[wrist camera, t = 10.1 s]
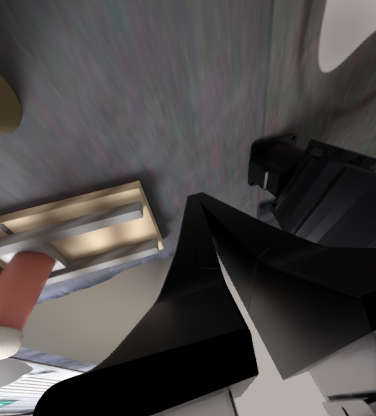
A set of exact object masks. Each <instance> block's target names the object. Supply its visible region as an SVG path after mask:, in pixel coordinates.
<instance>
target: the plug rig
mask: <svg viewBox="0 0 376 416" xmlns="http://www.w3.org/2000/svg"><path fill="white" fill-rule="evenodd" d="M47 243H49V244H50V245H51V246H52V247H53V248H54V249H56V250H57V251H58V252H59V253H60V254H61V255H62V256H63V257H64V258H65V259H66V260H67V261H69V262H68V265H67V267H66V268H63V269H60V270H56V271H53V272H51V274H50V276H49V278H48V280H47V282H46V284H45V285H49V284H52V283H56V282H59V281H62V280H66V279H69V278H73V277H76V276H80V275H83V274H87V273H90V272H94V271H97V270H100V269H104V268H107V267H111V266H114V265H118V264H121V263H125V262H128V261H132V260H135V259H138V258H142V257H145V256H149V255H152V254H156V253H159V250H161V249H164V246H163V239H162V237H161V234H160V232H159V229H158V227H157V224H156V222H155V219H154V217H153V214H152V211H151V209H150V206H149V204H148V201H147V199H146V196H145V194H144V191H143V189H142V186H141V184H140V181H135V182H131V183H127V184H123V185H119V186H115V187H111V188H107V189H104V190H100V191H96V192H92V193H88V194H84V195H80V196H76V197H72V198H68V199H64V200H60V201H56V202H52V203H48V204H44V205H40V206H36V207H32V208H28V209H24V210H20V211H16V212H12V213H8V214H4V215H0V256H2V255H6V254H10V253H13V252H17V251H21V250H25V249H28V248H32V247H36V246H39V245H43V244H47ZM7 264H8V263H6V262H5V261H3V260H1V259H0V273H1V272H2V271H3V269H4V268H5V267H6V265H7Z"/></svg>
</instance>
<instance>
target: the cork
mask: <svg viewBox="0 0 376 416" xmlns="http://www.w3.org/2000/svg"><path fill="white" fill-rule="evenodd" d="M21 119H22V112H21V105H20V103H19V101H18V98H17V96H16V94H15V92H14V91H13V90H12V88H11V87H10V85H9V84H8V83H7V81H6V80H5V79H4V78H3V77H2V76H1V75H0V135H3V134H6V133H10V132H12V131H14V130H15V129H16V128H17V127H18V126H19V124H20V121H21Z"/></svg>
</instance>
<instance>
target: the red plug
mask: <svg viewBox="0 0 376 416" xmlns="http://www.w3.org/2000/svg"><path fill="white" fill-rule="evenodd" d="M0 259H1V260H3V261H5V262H6V263H8V264H7V265H6V267H5V268H4V269H3V271H2V272H1V273H0V360H1V359H5V358H8V357H10V356H12V355H14V354H15V353H16V352H17V351H18V349H19V347H20V345H21V343H22V341H23V339H24V334H23V333H22V330H23V328H24V326H25V324H26V322H27V320H28V318H29V316H30V314H31V312H32V310H33V308H34V306H35V304H36V302H37V300H38V298H39V296H40V294H41V292H42V290H43V288H44V286H45V284H46V282H47V280H48V278H49V276H50V274H51V272H53V271H56V270H60V269H63V268H66V267H67V265H68V262H69V261H67V260H66V259H65V258H64V257H63V256H62V255H61V254H60V253H59V252H58V251H57V250H56V249H54V248H53V247H52V246H51V245H50V244H49V243H47V244H43V245H39V246H36V247H32V248H28V249H25V250H21V251H17V252H13V253H10V254H6V255H2V256H0Z"/></svg>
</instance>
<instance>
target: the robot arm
mask: <svg viewBox="0 0 376 416" xmlns="http://www.w3.org/2000/svg"><path fill="white" fill-rule="evenodd" d="M292 137H293V138H292ZM296 140H297V135H296V134H289V135H285V136H281V137H277V138H273V139H269V140H265V141H261V142H257V143H254V144H252V146H251V153H250V161H249V169H248V177H249V178H248V184H249V185H250V186H254V185H259V186H260V187H261V188H262V189H264V190H268V191H269V192H270V193H271V194H273V195H274V196H275V197H276V199H275V200H274V202H273V203H272V204H271V205H270V207H269V208H270V209H271V211H272V213H273V215H274V216H275V218H276V220H277V221H278V223H279V225H280V226H281V228H282V229H283V230H281V229H278V228H276V227H273V226H271V225H269V224H266V223H264V222H262V221H260V220H258V219H256V218H254V217H252V216H251V217H250V215H248V214H246V213H244V212H242V211H240V210H238V209H236V208H234V207H232V206H230V205H228V204H226V203H224V202H221V201H219V200H217V199H215V198H213V197H211V196H209V195H207V194H205V193H203V192H200V193H197V194H193V195H189V196H188V197H187V201H186V206H185V211H184V216H183V220H182V225H181V230H180V234H179V239H178V243H177V247H176V251H175V254H174V257H173V260H172V263H171V266H170V268H169V271H168V274H167V276H166V279H165V281H164V284H163V287H162V289H161V292H160V294H159V296H158V298H157V300H156V302H155V303H154V305H153V306H152V307H151V308H150V310H149V311H148V312H147V313H146V314H145V316H144V317H143V318H142V319H141V320H140V321H139V323H138V324H137V325H136V326H135V327H134V328H133V330H132V331H131V332H130V333H129V334H128V335H127V336H126V338H125V339H124V340H123V341H122V342H121V344H120V345H119V346H118V347H117V348H116V349H115V350H114V351H113V353H111V355H110V356H109V357H107V358H106V359H105V360H104V361H103V362H102V363H100V364H99V365H97V366H96V367H94V368H93V369H91V370H89V371H87V372H85V373H83V374H80V375H77V376H74V377H71V378H68V379H66V380H63V381H61V382H58V383H56V384H54V385H53V386H51V387H50V388H49V389H47V390H46V391H45V392H44V394H43V395H42V396H41V398H40V399H39V401H38V402H37V405H36V407H35V409H34V413H33V416H239V414H238V411H237V407H236V404H235V400H234V399H235V398H237V397H240V396H241V395H242V394H243V393H244V391H245V390H246V389H247V388H248V387H249V385H250V384H251V383H252V382H253V380H254V379H255V378H256V377H257V375H258V373H259V372H258V367H257V362H256V357H255V353H254V348H253V342H252V337H251V332H250V330H249V329H248V326H247V324H246V322H245V320H244V318H243V316H242V314H241V312H240V311H239V308H238V306H237V304H236V302H235V301H234V299H233V297H232V295H231V293H230V291H229V289H228V287H227V285H226V282H225V280H224V277H223V274H222V271H221V267H220V264H219V260H218V257H217V254H218V256H219V258H220V260H221V262H222V264H223V266H224V267H225V269H226V271H227V273H228V275H229V277H230V279H231V281H232V282H233V285H234V286H235V289H236V290H237V292H238V294H239V296H240V298H241V300H242V302H243V304H244V306H245V308H246V310H247V311H248V314H249V316H250V318H251V319H252V321H253V323H254V325H255V327H256V329H257V331H258V332H259V334H260V337H261V339H262V341H263V342H264V344H265V346H266V348H267V350H268V352H269V354H270V356H271V358H272V360H273V362H274V364H275V365H276V367H277V369H278V371H279V373H280V375H281V377H282V379H283V380H285V379H288V378H291V377H293V376H296V375H298V374H301V373H304V372H307V371H309V373H310V374H311V376H312V378H313V380H314V381H315V383H316V385H317V386H318V388H319V390H320V391H321V393H322V395H323V397H324V398H325V400H326V402H323V406H324V408H325V409H326V411H327V413H328V415H329V416H376V158H374V157H371V156H368V155H365V154H361V153H358V152H355V151H351V150H348V149H344V148H341V147H338V146H334V145H330V144H327V143H323V142H319V141H316V140H312V139H311V140H310V142H309V144H308V147H307V149H306V150H303V149H300V148H298V147H295V144H296ZM255 146H256V148H255V149H254V147H255ZM216 252H217V254H216Z"/></svg>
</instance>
